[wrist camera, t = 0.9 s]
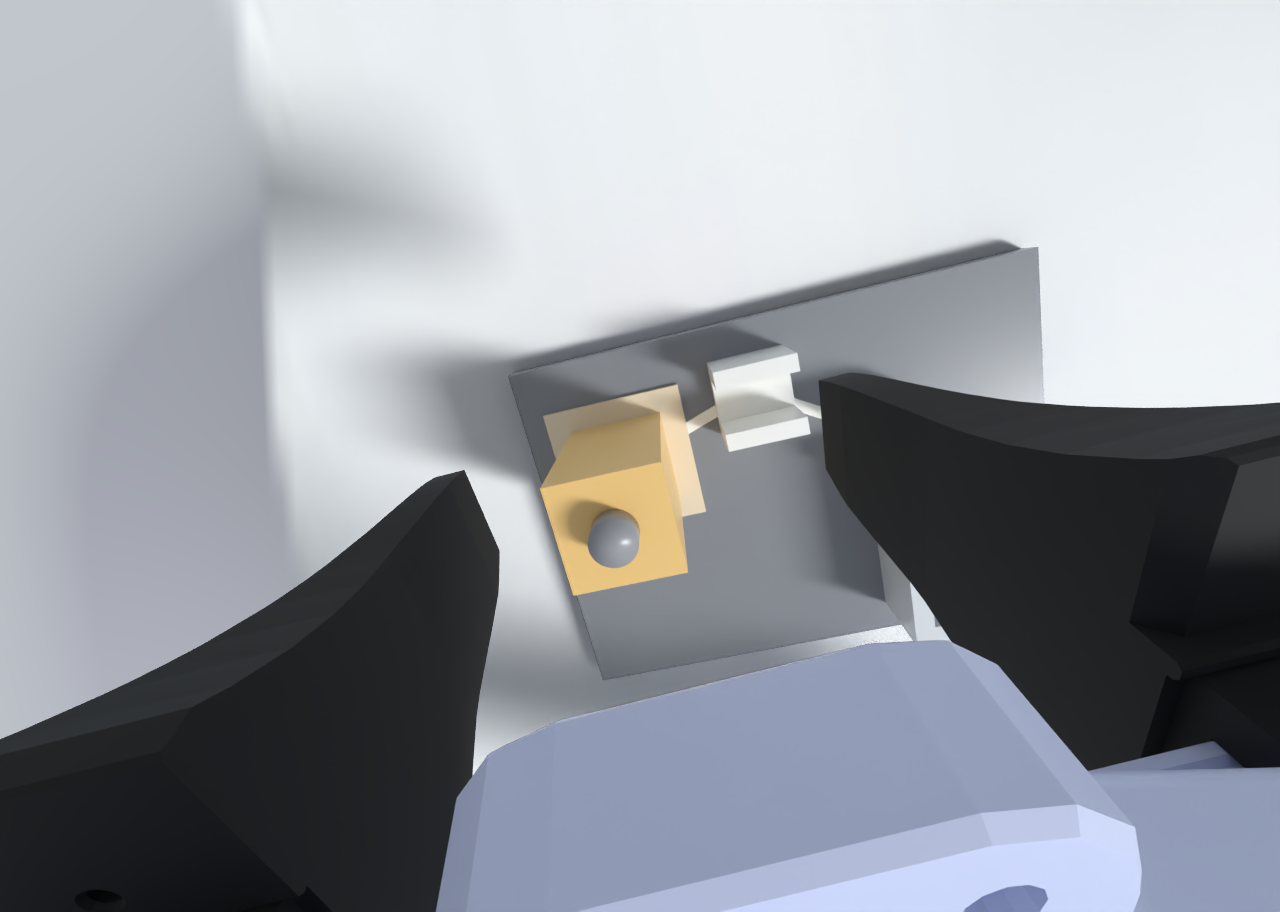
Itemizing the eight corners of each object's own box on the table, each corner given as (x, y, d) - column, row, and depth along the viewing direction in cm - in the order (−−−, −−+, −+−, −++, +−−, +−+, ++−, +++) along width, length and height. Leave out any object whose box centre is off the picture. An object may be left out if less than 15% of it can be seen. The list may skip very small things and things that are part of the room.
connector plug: (680, 496, 26) (689, 588, 18) (594, 514, 26) (569, 612, 18) (659, 412, 25) (661, 472, 17) (571, 432, 25) (533, 500, 17)
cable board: (1037, 585, 28) (1107, 641, 24) (604, 667, 30) (596, 732, 26) (1022, 248, 23) (1105, 241, 19) (513, 372, 25) (485, 391, 21)
